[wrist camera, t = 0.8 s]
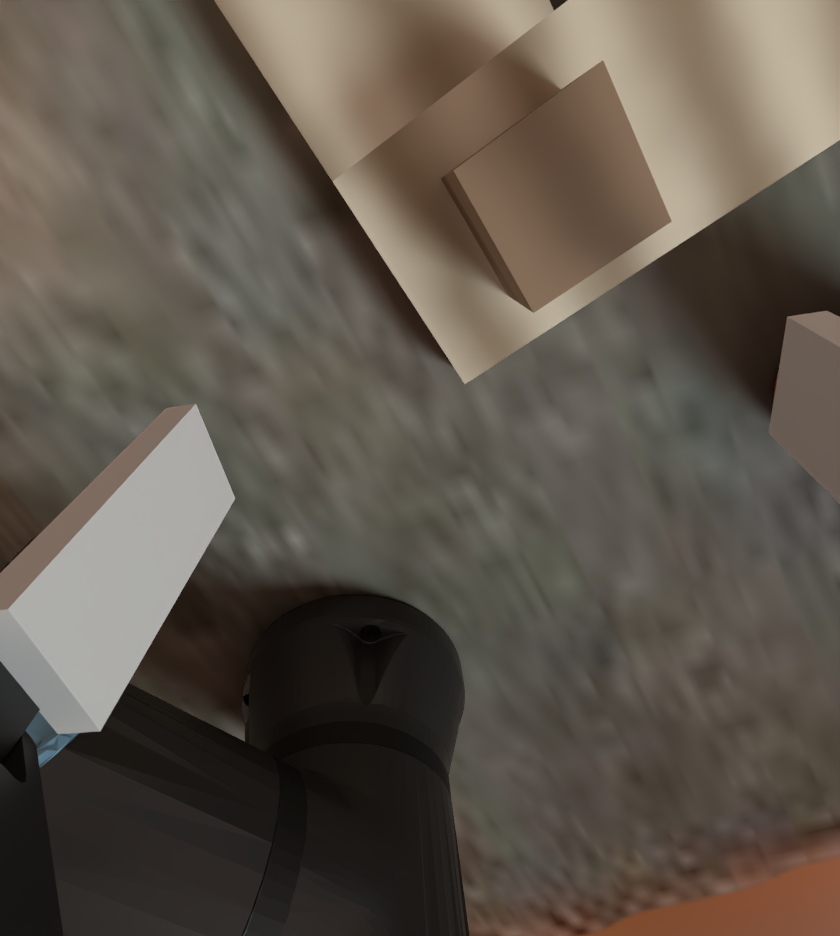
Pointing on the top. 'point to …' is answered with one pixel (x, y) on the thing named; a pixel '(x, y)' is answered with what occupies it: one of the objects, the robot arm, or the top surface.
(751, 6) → the trap deck
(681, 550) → the top surface
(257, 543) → the top surface
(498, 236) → the walnut block
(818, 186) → the top surface
